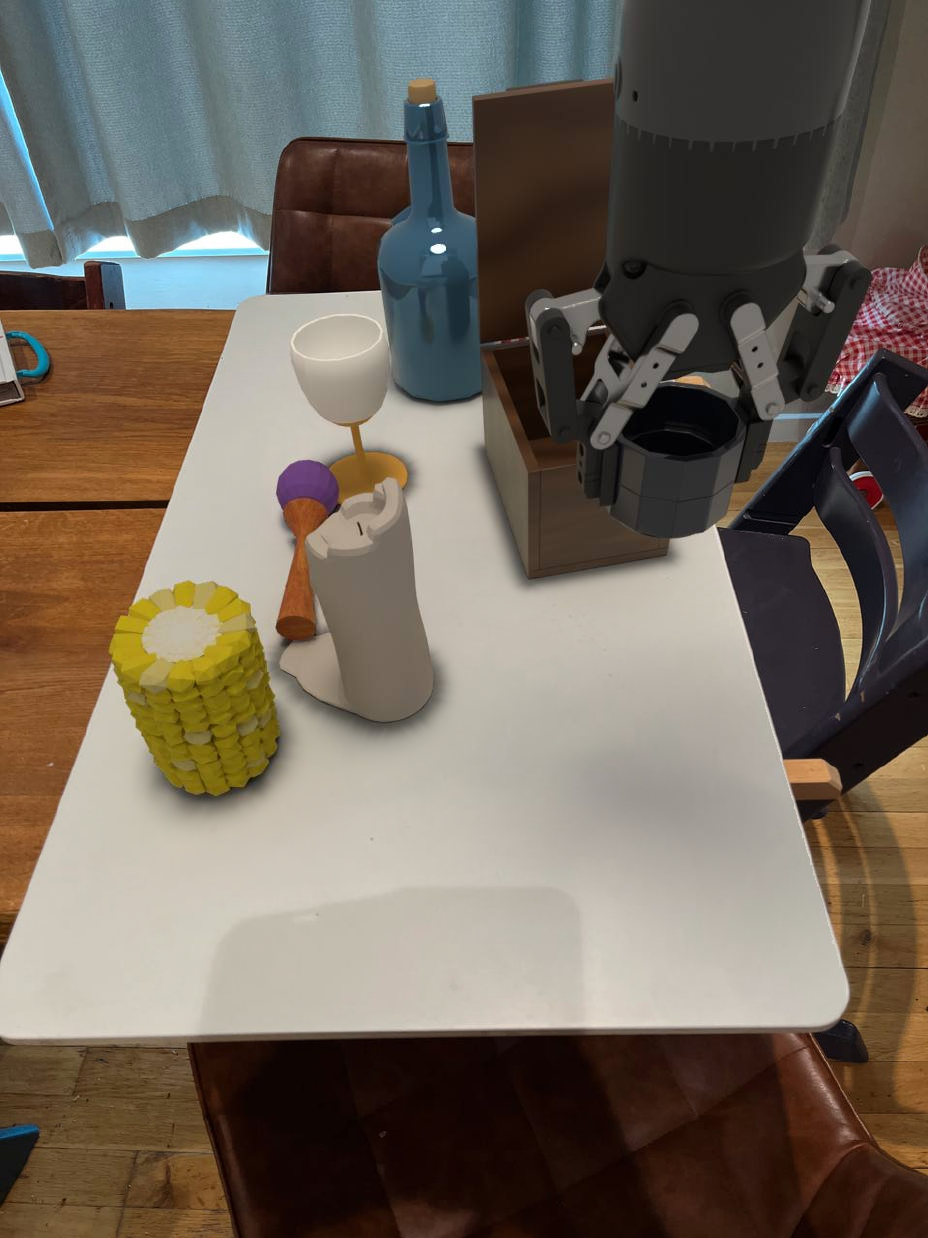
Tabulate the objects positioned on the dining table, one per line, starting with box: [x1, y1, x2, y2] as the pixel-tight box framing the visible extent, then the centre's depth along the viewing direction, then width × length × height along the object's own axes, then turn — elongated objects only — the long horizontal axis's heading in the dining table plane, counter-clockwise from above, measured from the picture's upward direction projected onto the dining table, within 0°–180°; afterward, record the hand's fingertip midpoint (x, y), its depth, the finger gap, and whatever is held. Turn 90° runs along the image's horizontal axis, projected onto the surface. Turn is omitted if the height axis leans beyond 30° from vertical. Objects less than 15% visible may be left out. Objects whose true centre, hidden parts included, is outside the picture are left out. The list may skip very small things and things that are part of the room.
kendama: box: [275, 459, 339, 641], centre depth 72 cm, size 6×6×20 cm
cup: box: [289, 313, 409, 506], centre depth 76 cm, size 9×9×16 cm
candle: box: [279, 477, 435, 723], centre depth 57 cm, size 7×14×20 cm, turn 65°
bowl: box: [606, 380, 748, 540], centre depth 38 cm, size 6×6×5 cm
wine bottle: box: [375, 77, 502, 403], centre depth 83 cm, size 14×13×30 cm
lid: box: [471, 77, 615, 344], centre depth 67 cm, size 21×13×5 cm
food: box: [108, 579, 281, 797], centre depth 55 cm, size 15×12×10 cm
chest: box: [480, 326, 671, 580], centre depth 73 cm, size 20×13×12 cm, turn 10°
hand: (666, 484), depth 39 cm, fingers closed on bowl, 6 cm apart
